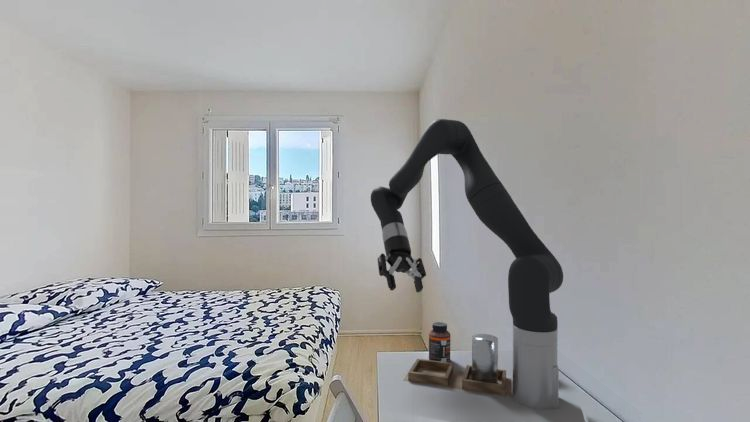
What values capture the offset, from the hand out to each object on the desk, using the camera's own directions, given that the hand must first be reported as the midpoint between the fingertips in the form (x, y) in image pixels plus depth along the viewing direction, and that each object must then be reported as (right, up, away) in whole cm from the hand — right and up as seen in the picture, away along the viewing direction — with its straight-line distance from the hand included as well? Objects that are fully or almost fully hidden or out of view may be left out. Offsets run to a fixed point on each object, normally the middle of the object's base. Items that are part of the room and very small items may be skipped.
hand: (406, 290), depth 109 cm
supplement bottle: (+9, -21, +1) cm, 23 cm away
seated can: (+18, -20, -14) cm, 30 cm away
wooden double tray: (+12, -21, -12) cm, 27 cm away
